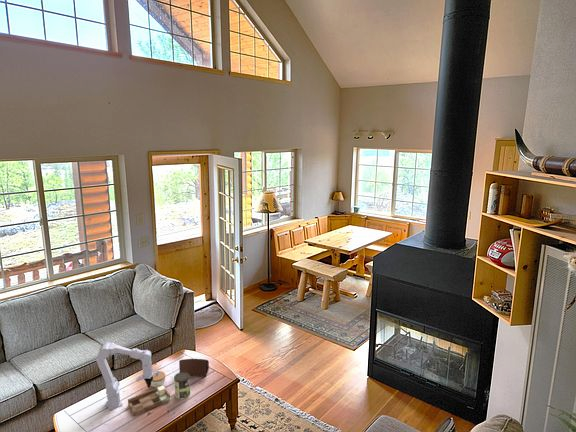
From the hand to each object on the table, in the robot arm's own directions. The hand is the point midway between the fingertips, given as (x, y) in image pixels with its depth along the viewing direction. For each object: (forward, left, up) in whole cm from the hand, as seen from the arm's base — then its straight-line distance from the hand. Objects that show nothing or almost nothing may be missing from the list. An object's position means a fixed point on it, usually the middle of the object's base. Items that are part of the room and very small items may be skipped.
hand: (148, 386), depth 259 cm
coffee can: (+8, +20, -11) cm, 24 cm away
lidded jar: (-12, +10, -11) cm, 19 cm away
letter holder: (-10, +37, -11) cm, 40 cm away
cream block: (+1, +8, -8) cm, 11 cm away
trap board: (+2, -1, -10) cm, 11 cm away
